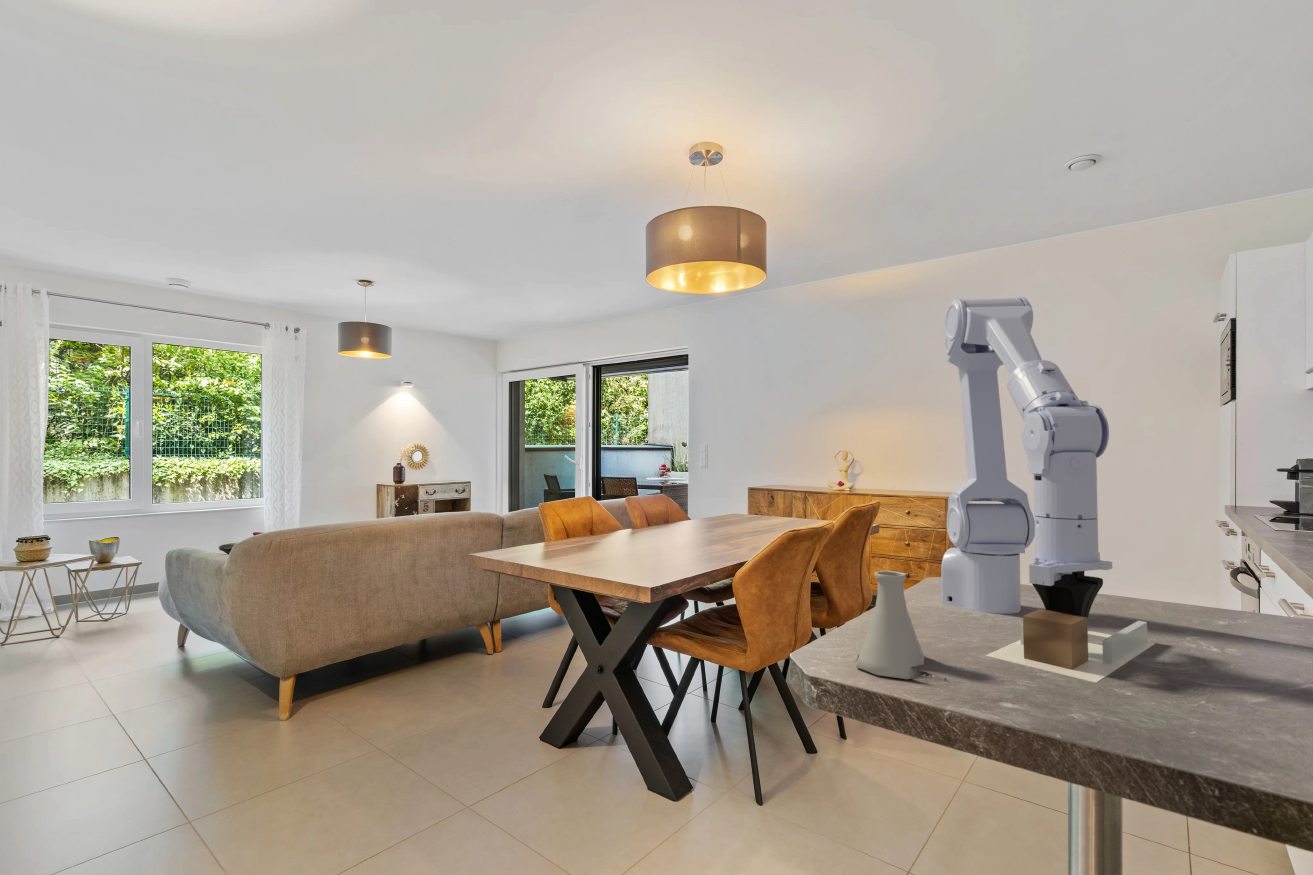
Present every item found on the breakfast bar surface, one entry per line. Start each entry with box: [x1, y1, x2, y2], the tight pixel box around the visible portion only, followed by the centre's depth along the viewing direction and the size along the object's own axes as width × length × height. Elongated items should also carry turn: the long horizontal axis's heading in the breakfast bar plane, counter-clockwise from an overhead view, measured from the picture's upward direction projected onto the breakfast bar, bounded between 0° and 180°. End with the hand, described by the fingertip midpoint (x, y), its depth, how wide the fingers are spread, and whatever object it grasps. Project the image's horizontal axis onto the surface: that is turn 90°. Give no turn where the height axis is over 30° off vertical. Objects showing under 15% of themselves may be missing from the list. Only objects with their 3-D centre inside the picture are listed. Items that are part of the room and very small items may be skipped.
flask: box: [855, 570, 928, 680], centre depth 66 cm, size 7×7×10 cm
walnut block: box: [1022, 608, 1089, 670], centre depth 65 cm, size 4×4×4 cm
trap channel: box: [985, 620, 1156, 684], centre depth 68 cm, size 10×19×3 cm, turn 128°
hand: (1068, 643), depth 67 cm, fingers closed
